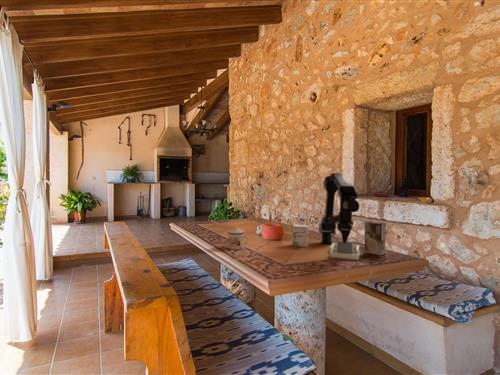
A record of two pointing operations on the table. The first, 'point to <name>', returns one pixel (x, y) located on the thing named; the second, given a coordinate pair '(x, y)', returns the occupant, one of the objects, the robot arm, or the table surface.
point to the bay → (336, 246)
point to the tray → (345, 256)
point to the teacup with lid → (236, 239)
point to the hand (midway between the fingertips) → (345, 241)
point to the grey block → (345, 246)
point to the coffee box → (375, 237)
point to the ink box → (300, 235)
